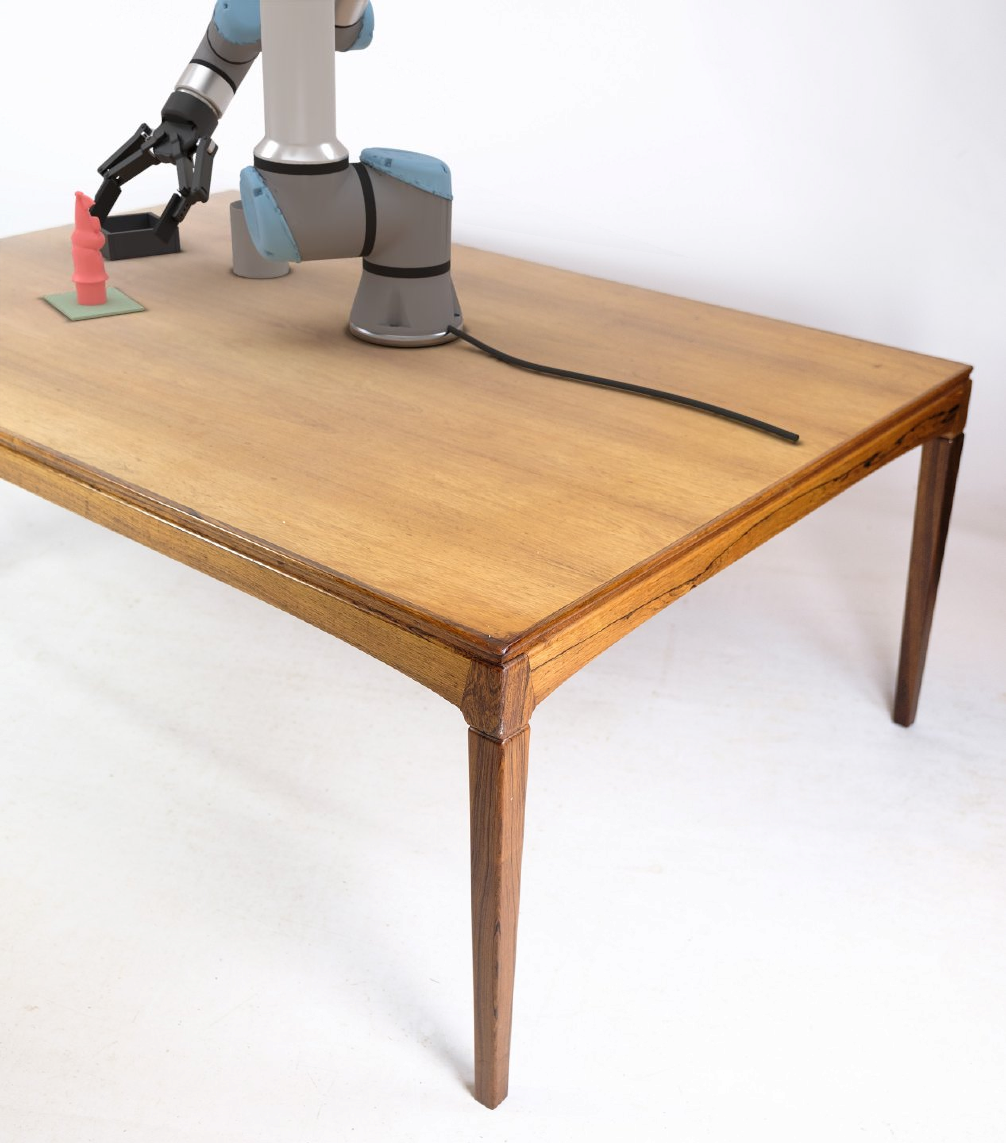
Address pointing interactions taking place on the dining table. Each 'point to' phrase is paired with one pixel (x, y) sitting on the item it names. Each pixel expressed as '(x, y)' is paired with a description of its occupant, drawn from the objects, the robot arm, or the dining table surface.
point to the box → (135, 237)
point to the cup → (249, 250)
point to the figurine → (88, 254)
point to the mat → (76, 311)
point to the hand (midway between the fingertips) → (125, 230)
